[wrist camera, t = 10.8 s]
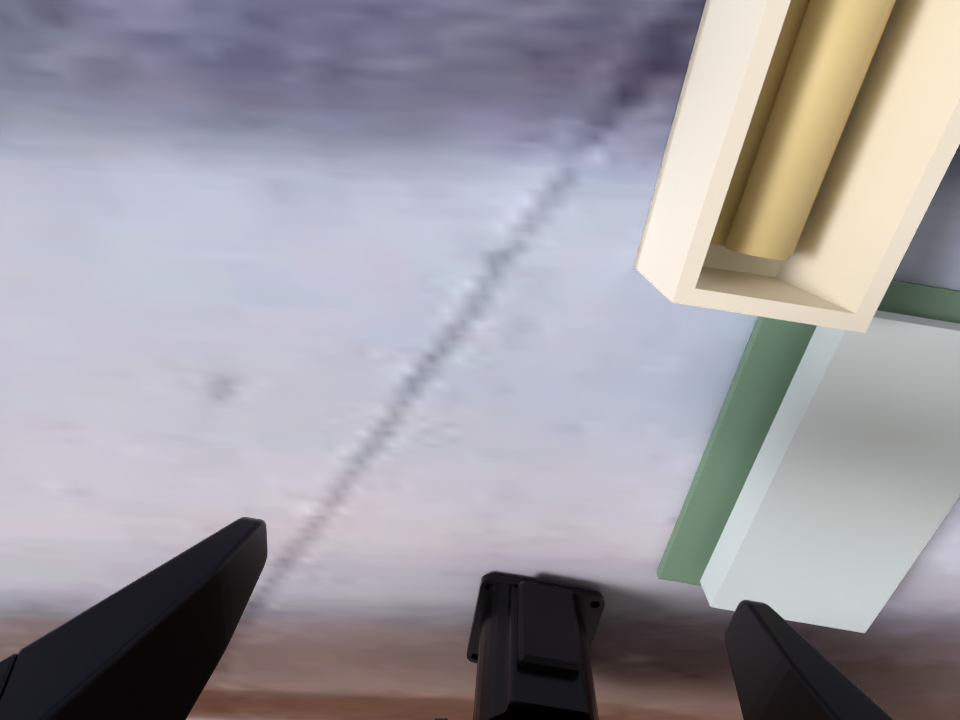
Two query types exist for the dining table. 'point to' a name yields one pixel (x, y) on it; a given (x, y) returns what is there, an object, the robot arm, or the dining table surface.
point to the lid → (847, 476)
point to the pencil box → (803, 156)
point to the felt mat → (762, 423)
